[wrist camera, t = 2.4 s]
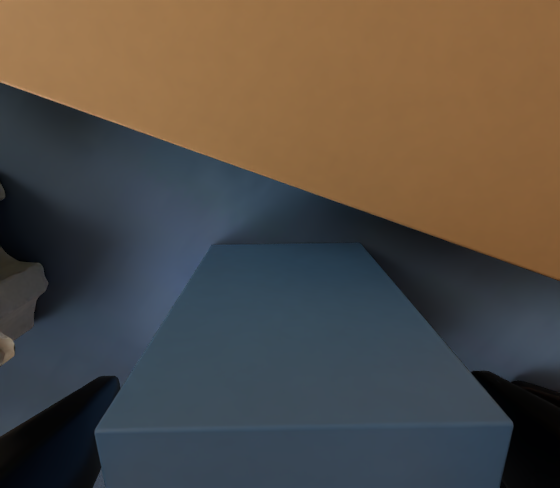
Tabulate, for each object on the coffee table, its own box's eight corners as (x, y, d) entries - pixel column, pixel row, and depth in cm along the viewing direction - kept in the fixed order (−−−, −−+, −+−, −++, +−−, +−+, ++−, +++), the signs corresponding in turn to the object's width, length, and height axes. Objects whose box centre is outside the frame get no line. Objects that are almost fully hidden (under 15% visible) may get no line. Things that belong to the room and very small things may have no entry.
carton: (360, 242, 12) (610, 530, 3) (352, 369, 13) (505, 813, 4) (211, 244, 12) (19, 542, 3) (220, 371, 13) (110, 824, 4)
